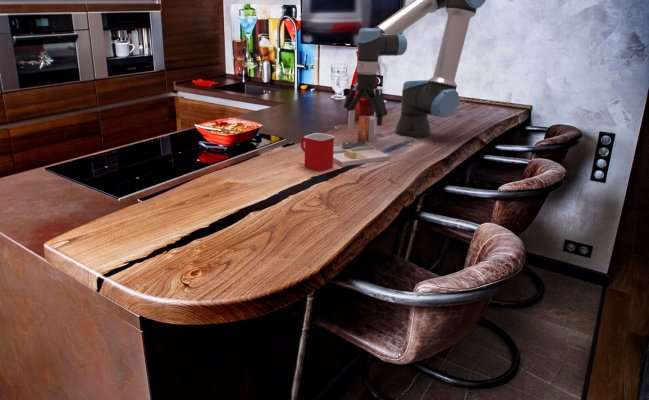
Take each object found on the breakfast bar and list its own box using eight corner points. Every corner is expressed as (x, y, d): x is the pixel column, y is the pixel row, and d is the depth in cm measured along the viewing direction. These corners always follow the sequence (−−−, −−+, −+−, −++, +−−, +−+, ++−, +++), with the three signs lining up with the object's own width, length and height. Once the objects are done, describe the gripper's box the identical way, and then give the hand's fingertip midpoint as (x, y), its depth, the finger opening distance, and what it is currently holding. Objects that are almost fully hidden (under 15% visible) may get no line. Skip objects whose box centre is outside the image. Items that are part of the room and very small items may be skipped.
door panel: (374, 152, 187) (375, 143, 186) (389, 159, 179) (390, 149, 177) (328, 158, 178) (328, 148, 177) (341, 166, 170) (342, 155, 169)
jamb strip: (365, 148, 192) (365, 142, 192) (373, 152, 187) (374, 146, 187) (319, 154, 184) (320, 147, 183) (327, 158, 179) (327, 151, 178)
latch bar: (347, 148, 181) (348, 121, 177) (339, 146, 184) (340, 119, 180) (370, 143, 189) (371, 117, 185) (362, 141, 192) (364, 115, 188)
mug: (335, 166, 170) (336, 136, 166) (320, 172, 164) (321, 141, 160) (308, 159, 177) (309, 130, 173) (293, 164, 170) (293, 134, 167)
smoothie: (378, 143, 201) (380, 109, 196) (363, 142, 202) (364, 108, 197) (380, 139, 207) (382, 106, 201) (364, 138, 208) (366, 105, 203)
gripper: (336, 70, 185) (334, 125, 193) (386, 77, 169) (381, 138, 176) (350, 68, 190) (347, 123, 198) (400, 76, 173) (395, 135, 181)
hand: (363, 130), depth 187 cm, fingers open, 13 cm apart
